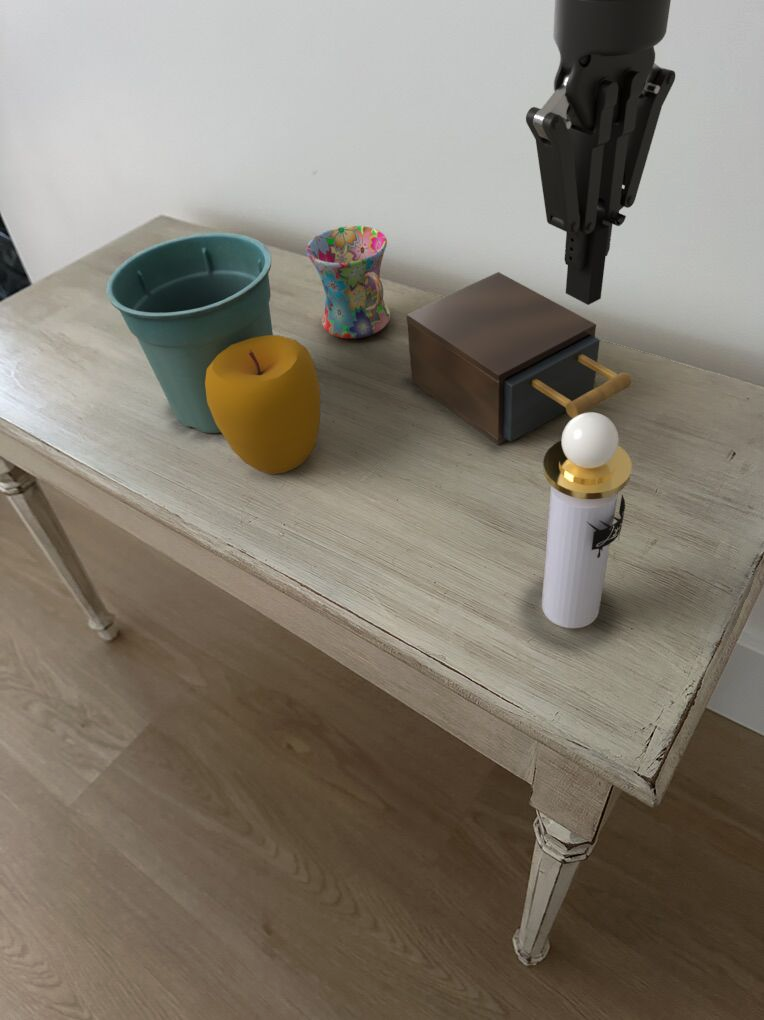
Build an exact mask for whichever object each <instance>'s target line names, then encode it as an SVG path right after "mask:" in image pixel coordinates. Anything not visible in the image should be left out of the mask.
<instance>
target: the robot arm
mask: <svg viewBox="0 0 764 1020" xmlns="http://www.w3.org/2000/svg"><path fill="white" fill-rule="evenodd" d="M671 1H672V0H554V10H553V11H554V12H553V28H552V29H553V31H552V37H553V41H554V43H555V45H556V47H557V50H558V52H559V65H558V68H557V71H556V73H555V76H554V79H553V91H554V92H553V93H552V94H551V96H550V97H549V99H547V101H546V102H545V104H543V106H542V107H541V108H539V107H536V106H532V107H530V109H528V111H527V112H526V115H525V122H526V125H527V127H528V128H529V130H530V132H531V134H532V136H533V138H534V139H535V145H536V152H537V160H538V166H539V173H540V181H541V187H542V189H541V190H542V195H543V202H544V209H545V217H546V223H547V224H549V225H551V226H553V227H555V228H557V229H559V230H562V231H563V232H566V233H565V234H566V235H565V246H564V247H565V249H564V263H565V265H567V269H566V282H565V294H566V295H568V296H570V297H572V298H574V299H576V300H577V301H579V302H581V303H582V304H583V303H584V305H587V306H589V305H591V304H594V303H595V302H597V301H599V300H601V298H602V289H603V282H604V274H605V265H606V257H607V256H608V255H609V252H610V248H611V240H612V239H611V238H612V233H613V225H614V226H616V227H620V226H622V225H623V223H624V222H625V221H626V217H627V215H625V214H622V213H620V211H621V210H622V209H623V208H626V209H627V208H631V207H632V206H633V204H634V203H635V201H636V197H637V195H638V191H639V188H640V184H641V180H642V177H643V174H644V170H645V167H646V164H647V160H648V156H649V153H650V149H651V146H652V142H653V138H654V136H655V132H656V129H657V125H658V122H659V118H660V115H661V112H662V107H663V105H664V103H665V101H666V100H667V97H668V95H669V93H670V91H671V89H672V87H673V85H674V83H675V80H676V72H675V70H673V69H669V68H664V67H661V66H659V65H658V64H657V63H655V61H656V51H655V46H657V45H658V44H659V43H661V41H662V40H663V39H664V38H665V36H666V34H667V29H668V22H669V15H670V9H671ZM623 186H624V187H623Z"/></svg>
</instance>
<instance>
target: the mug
mask: <svg viewBox="0 0 764 1020" xmlns="http://www.w3.org/2000/svg"><path fill="white" fill-rule="evenodd" d="M387 244H388V240H387V237H386V236H385V234H384V233H383V232H381V231H380V230H378V229H376V228H373V227H370V226H365V225H364V226H363V225H345V226H339V227H335V228H331V229H330V228H329V229H328V230H325V231H323V232H320V233H319V234H317V235H316V236H314V237H312V238H311V240H309V242H308V244H307V245H306V255H307V257H308V259H309V260H310V261H311V263H312V264H313V266H314V268H315V269H316V271H317V274H318V276H319V278H320V281H321V283H322V287H323V291H324V310H323V314H322V318H321V324H322V327H323V329H324V330H325V331H326V332H327V333H329V334H330V335H332V336H334V337H336V338H341V339H351V340H352V339H362V338H366V337H369V336H370V337H371V336H372V335H374V334H376V333H379V332H380V331H382V330H383V329H384V328H386V326H387V325H388V324H389V321H390V320H391V311H390V309H389V307H388V305H387V304H386V302H385V300H384V286H383V283H382V281H381V267H382V261H383V258H384V254H385V251H386V248H387V246H388V245H387Z"/></svg>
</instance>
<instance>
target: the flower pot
mask: <svg viewBox="0 0 764 1020" xmlns="http://www.w3.org/2000/svg"><path fill="white" fill-rule="evenodd" d="M271 267H272V255H271V252H270V250H269V248H268V247H267V246H266V245H265V244H264V243H263V242H261V241H259V240H258V239H256V238H254V237H251V236H248V235H244V234H240V233H235V232H206V233H196V234H190V235H185V236H180V237H176V238H173V239H168V240H166V241H162V242H159V243H157V244H153V245H152V246H149V247H147V248H145V249H143V250H141V251H139V252H136V254H134V255H132V256H130V257H129V258H127V259H126V260H125V261H123V262H122V263H121V264H120V265H119V266H118V267H117V268H116V269H115V270H114V272H112V274H111V275H110V277H109V279H108V281H107V284H106V288H105V293H106V297H107V298H108V300H109V302H110V303H111V305H112V306H113V307H114V308H115V309H117V310H118V311H119V312H120V314H121V316H122V318H123V320H124V322H125V324H126V326H127V328H128V330H129V331H130V333H131V334H132V335H133V336H134V337H136V339H137V341H138V343H139V345H140V347H141V349H142V351H143V353H144V355H145V357H146V359H147V361H148V364H149V365H150V367H151V369H152V371H153V373H154V375H155V377H156V379H157V381H158V383H159V385H160V387H161V389H162V391H163V393H164V394H163V395H164V396H165V398H166V399H167V402H168V404H169V406H170V408H171V410H172V412H173V414H174V416H175V418H176V420H177V421H178V422H179V423H180V424H181V425H182V426H184V427H185V428H190V427H191V428H194V429H196V430H198V431H199V432H201V433H205V434H206V433H207V434H219V433H221V431H220V430H219V428H218V426H217V425H216V423H215V420H214V418H213V415H212V413H211V411H210V408H209V406H208V403H207V396H206V388H205V379H206V371H207V368H208V367H209V365H210V364H211V363H212V362H213V360H214V359H215V358H216V357H217V355H219V354H220V353H221V352H222V351H223V350H225V349H226V348H228V347H229V346H230V345H232V344H235V343H238V342H241V341H244V340H247V339H250V338H254V337H260V336H265V335H274V333H273V325H272V317H271V308H270V302H271V296H272V295H271V285H270V278H269V276H270V275H269V273H270V271H271Z"/></svg>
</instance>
